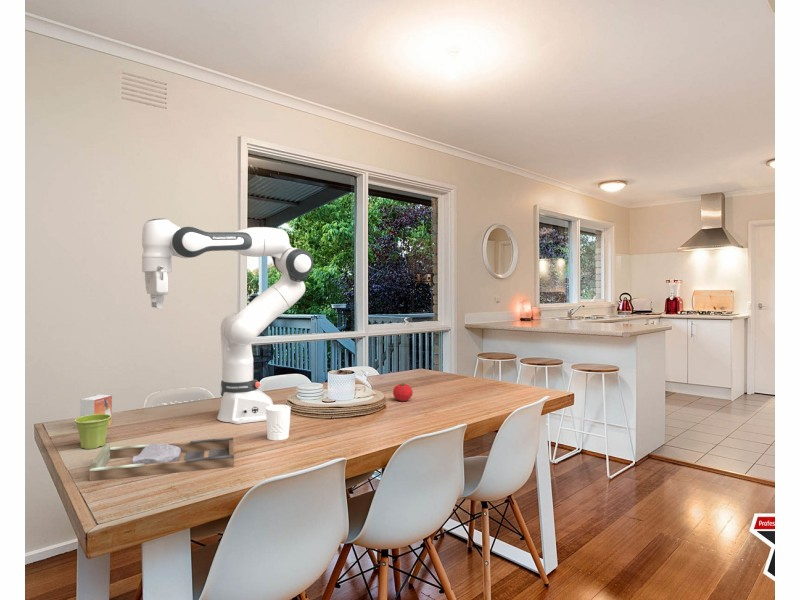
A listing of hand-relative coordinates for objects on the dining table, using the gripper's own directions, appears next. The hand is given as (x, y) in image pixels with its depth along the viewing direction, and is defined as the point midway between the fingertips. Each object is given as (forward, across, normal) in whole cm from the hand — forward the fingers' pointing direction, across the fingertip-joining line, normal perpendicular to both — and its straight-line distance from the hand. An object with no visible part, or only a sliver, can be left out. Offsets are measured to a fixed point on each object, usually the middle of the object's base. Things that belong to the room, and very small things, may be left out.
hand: (156, 308), depth 162 cm
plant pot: (+42, -8, +19) cm, 46 cm away
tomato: (+43, -7, -98) cm, 107 cm away
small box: (+42, +14, +17) cm, 47 cm away
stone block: (+42, -33, +5) cm, 54 cm away
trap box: (+42, -34, +2) cm, 54 cm away
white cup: (+42, -29, -31) cm, 60 cm away
